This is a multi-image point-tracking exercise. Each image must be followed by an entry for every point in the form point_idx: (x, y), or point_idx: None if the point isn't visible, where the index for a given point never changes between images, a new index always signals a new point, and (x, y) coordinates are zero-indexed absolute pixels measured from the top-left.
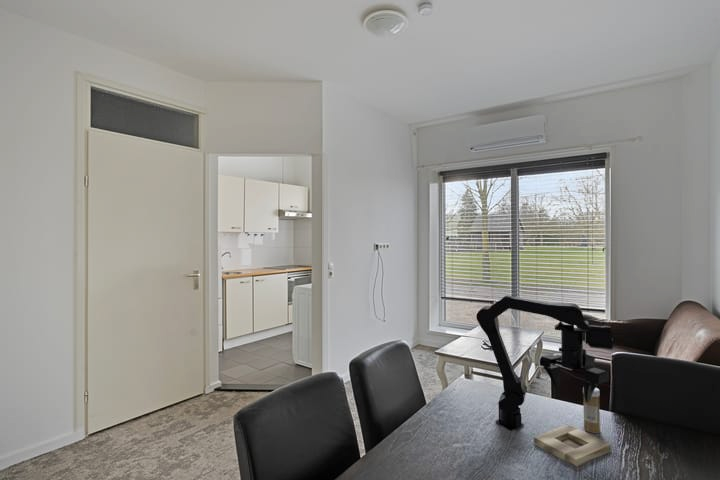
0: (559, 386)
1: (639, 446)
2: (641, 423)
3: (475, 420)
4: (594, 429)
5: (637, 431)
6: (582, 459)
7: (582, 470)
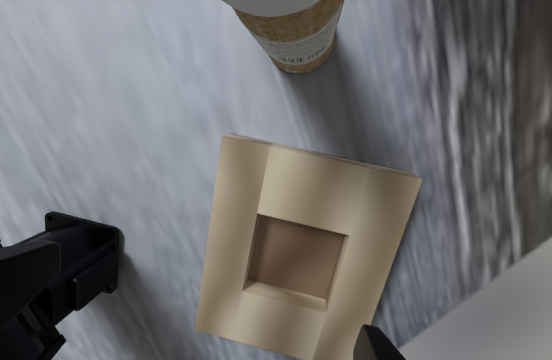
0: (12, 274)
1: (510, 22)
2: None
3: None
4: (319, 61)
5: None
6: None
7: None
